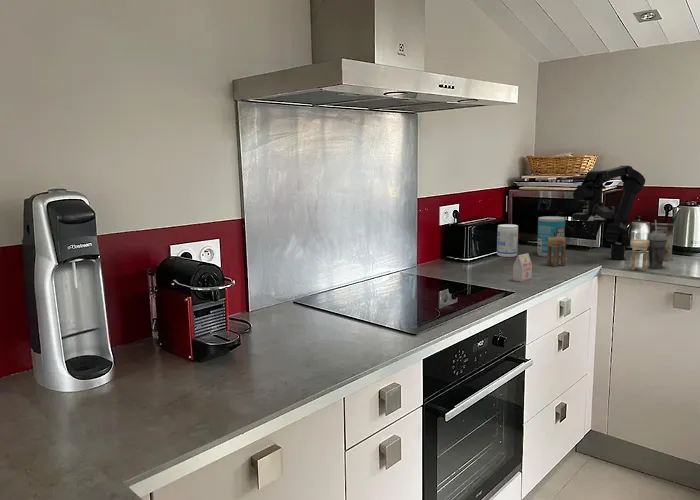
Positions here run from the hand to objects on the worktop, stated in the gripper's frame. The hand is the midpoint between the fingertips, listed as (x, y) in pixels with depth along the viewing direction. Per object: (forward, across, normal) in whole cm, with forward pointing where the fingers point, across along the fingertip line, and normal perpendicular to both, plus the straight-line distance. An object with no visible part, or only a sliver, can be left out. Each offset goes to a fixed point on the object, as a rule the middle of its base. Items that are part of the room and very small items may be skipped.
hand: (593, 235), depth 245 cm
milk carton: (+12, -47, -15) cm, 51 cm away
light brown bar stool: (+12, +6, -20) cm, 24 cm away
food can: (+12, -4, +23) cm, 27 cm away
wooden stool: (+12, -18, +2) cm, 21 cm away
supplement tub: (+12, -22, +32) cm, 41 cm away
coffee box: (+12, +30, -8) cm, 34 cm away
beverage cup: (+12, +14, -20) cm, 28 cm away
